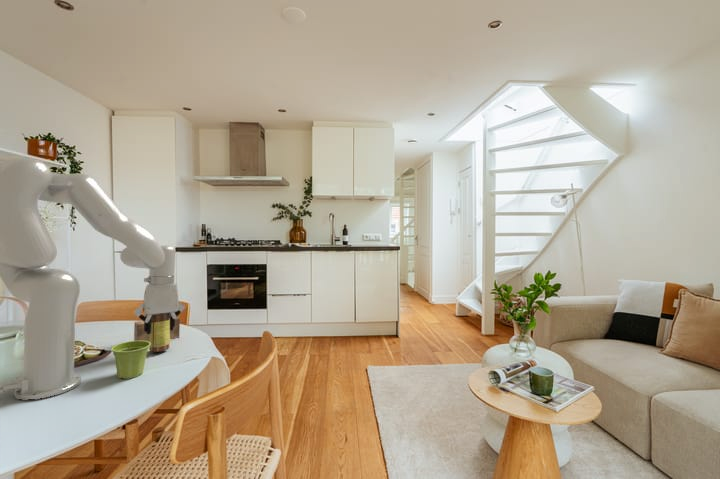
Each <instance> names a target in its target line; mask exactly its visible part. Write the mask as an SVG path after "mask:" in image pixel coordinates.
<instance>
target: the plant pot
mask: <svg viewBox="0 0 720 479" xmlns="http://www.w3.org/2000/svg"><path fill="white" fill-rule="evenodd" d="M150 345H151V343H150V342H149V341H134V340H131V341H124V342H121V343H118V344H115V345H114V346H112V347H111V349H110V350H111V351H112V353H113V354H112V355H113V356H114V361H115V366H116V367H115V368H116V374H117V378H118V379H125V380H128V379H132V378H136V377H138V376H140V375H142V374H143V373H144V370H145V364H146V358H147V353H148V352H149V348H150V347H149V346H150Z"/></svg>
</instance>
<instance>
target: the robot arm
mask: <svg viewBox="0 0 720 479" xmlns="http://www.w3.org/2000/svg"><path fill="white" fill-rule="evenodd" d="M94 178H95V177H94ZM94 178H93V177H92V176H90V175H88V174H85V173H66V174H65V173H64V174H63V173H58V172H54V171H53V172H52V171H51V169H50V167H49V166H48V165H47V164H45V163H44V162H43V161H41V160H38V159H35V158H31V157H30V158H29V157H18V158H13V159H12V158H11V159H10V158H9V159H4V160H0V278H1V280H2V283H3V284H4V285H5V287H6V288H7V290H8V292H9V293H10V294H11V295H12V296H13V297H14V298H15V299H17V300H20V301H23V302H26V303H28V308H27V311H26V314H25V319H24V328H23V329H24V332H23V333H24V334H23V336H24V339H23V340H24V342H23V372H22V374H21V376H19V377H16V378H15V379H13V380H6V381H1V382H0V391H2V393H7V392H10V391H14V392H13V393H14V394H13V396H14V398H15V399H16V400H19V399H22V400H21V401H29V400H28V399H35V400H41V399H40V398H42V399H45V398H46V397H47V398H50V396H51V397H54V395H55V396H57V395H61V394H64V393H67V392H68V391H71V390H72V389H74V388H77V387H78V386H79V385H80V384H81V383H82V376H81V375H79V374H77V373H75V349H76V348H75V346H76V345H75V343H76V341H75V340H76V312H77V306H78V301H79V296H80V290H81V286H80V283H79V280H78V279H77V277H75V276H74V274H72V273H70V272H67V271H65V270H61V269H55V268H50V266H49V265H50V264H52V263H53V262H54V261H55V259H56V258H57V254H58V252H57V251H58V250H57V247H56V244H55V242H54V239H52V237H51V235H50V232H49V230H48V228H47V227H46V224H45V223H44V221H43V217H42V216H41V214H40V211H39V207H38V206H39V204H38V203H39V201H44V202H49V203H50V202H51V203H57V204H64V205H65V204H66V205H69V204H70V205H71V206H72V207H73V208H74V209H75V210H76V211H77V212H78V213H79V214H80V215H81V216H82V217H83V219H85V221H87V223H88V224H89V225H90V226H91V227H92V228H93V229H94V230H96V232H97V233H100V234H101V235H103V236H106V237H109V238H110V239H114V240H115V241H117V242H118V243H121V244H122V245H124V246H125V247H124V248H123V249H122V251H121V252H120V260H121V262H122V263H123V264H124V265H125V266H127V267H131V268H138V269H147V270H149V272H148V273H149V274H148V276H147V277H144V278H143V282H144V283H147V284H146V287H145V290H144V294H143V300H142V301H143V302H142V304H140V306H138V307H137V308H136V309H134V311H133V314H134V315H135V316H136V317H138V318H139V319H140V321H144V331H145V332H146V333H147V334H150V329H151V323H150V318H151V316H152V315H155V314H161V313H169V314H170V330H173V327H175V319H176V317H178V316H179V315H180V314H181V313H182V312H183V311H185V309H186V306H185V305H183V304H182V303H181V302H180V301H179V293H178V292H179V290H178V285H177V283H175V269H176V268H175V267H176V248H175V247H174V246H172V245H161V244H159V242H158V241H157V239H155V237H154V236H153V235H152V234H151V233H150V232H149V231H147V230H146V229H145V228H144V227H142V226H141V225H140V224H138V223H137V222H136V221H134V220H133V219H131V218H130V217H128V216H127V215H126V214H125V213H124V212H123V211H122V209H120V208H119V206H118V205H117V204H116V202H115V201H114V200H113V199H112V197H110V195H109V194H108V192H106V190H105V189H104V188H103V187H102V185H100V183H99V182H98V181H97V180H96V179H94ZM142 311H143V313H145V315H143V314H142ZM47 398H46V399H47Z"/></svg>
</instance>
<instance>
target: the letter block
mask: <svg viewBox="0 0 720 479" xmlns="http://www.w3.org/2000/svg"><path fill="white" fill-rule="evenodd" d="M180 322H181V319H180V317H178V316H177V317H176V319H175V327H173V330H170V339H173V340H176V339H175V338H178V339H180V330H181V329H180V328H181V327H180V325H181V324H180ZM133 330H134V331H133V332H134V333H133V341H149V334H147V333H146V332H145V331H144V321H143V320H140V321H139V320H138V321H134V329H133Z"/></svg>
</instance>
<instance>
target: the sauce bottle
mask: <svg viewBox="0 0 720 479" xmlns="http://www.w3.org/2000/svg"><path fill="white" fill-rule="evenodd" d="M150 323H151V329H150V334H149V342H150V343H151V345H150V346H149V348H148V351H149V352H152V353H160V352H164V351H167V350H168V349H170V343H171V340H170V314H169V313H161V314H155V315H152V316H151V318H150Z"/></svg>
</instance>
